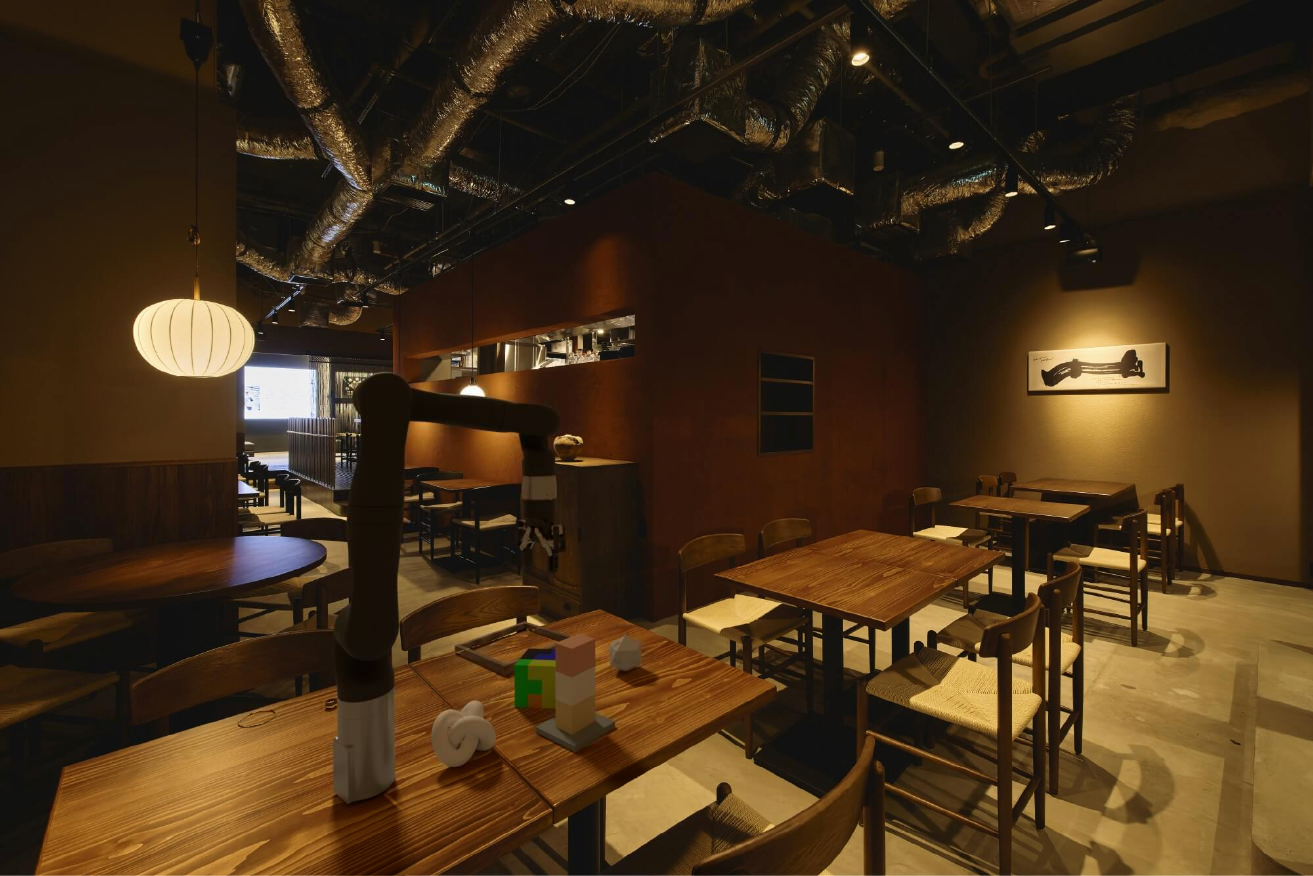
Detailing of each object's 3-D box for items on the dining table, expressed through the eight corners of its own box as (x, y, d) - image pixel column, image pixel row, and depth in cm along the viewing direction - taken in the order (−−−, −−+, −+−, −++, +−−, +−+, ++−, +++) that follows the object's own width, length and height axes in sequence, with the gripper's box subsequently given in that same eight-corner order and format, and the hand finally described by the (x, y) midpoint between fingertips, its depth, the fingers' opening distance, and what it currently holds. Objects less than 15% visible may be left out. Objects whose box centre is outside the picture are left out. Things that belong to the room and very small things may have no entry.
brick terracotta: (571, 677, 112) (571, 648, 112) (555, 671, 115) (555, 643, 115) (595, 666, 118) (595, 638, 118) (579, 660, 121) (579, 633, 121)
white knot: (432, 743, 112) (432, 700, 112) (493, 732, 116) (492, 690, 116) (431, 776, 101) (430, 728, 101) (497, 761, 105) (497, 716, 105)
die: (604, 669, 147) (604, 632, 147) (635, 663, 151) (634, 627, 151) (615, 682, 139) (615, 643, 139) (647, 675, 143) (647, 637, 143)
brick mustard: (571, 735, 112) (571, 706, 112) (555, 727, 115) (555, 699, 115) (595, 720, 118) (595, 693, 118) (579, 713, 121) (579, 687, 121)
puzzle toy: (567, 689, 135) (567, 649, 135) (556, 709, 125) (555, 666, 125) (528, 687, 136) (528, 648, 136) (514, 707, 126) (514, 665, 126)
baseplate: (575, 752, 108) (575, 746, 108) (535, 732, 115) (535, 726, 115) (615, 726, 118) (615, 721, 118) (576, 709, 125) (576, 704, 125)
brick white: (571, 706, 112) (571, 677, 112) (555, 699, 115) (555, 671, 115) (595, 693, 118) (595, 666, 118) (579, 687, 121) (579, 660, 121)
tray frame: (504, 677, 142) (504, 666, 142) (454, 655, 156) (454, 645, 156) (575, 647, 162) (575, 637, 162) (525, 630, 176) (525, 621, 176)
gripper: (505, 495, 120) (505, 568, 120) (547, 499, 112) (548, 578, 112) (531, 492, 126) (532, 561, 126) (574, 496, 118) (574, 570, 118)
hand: (539, 569), depth 119 cm, fingers open, 8 cm apart
